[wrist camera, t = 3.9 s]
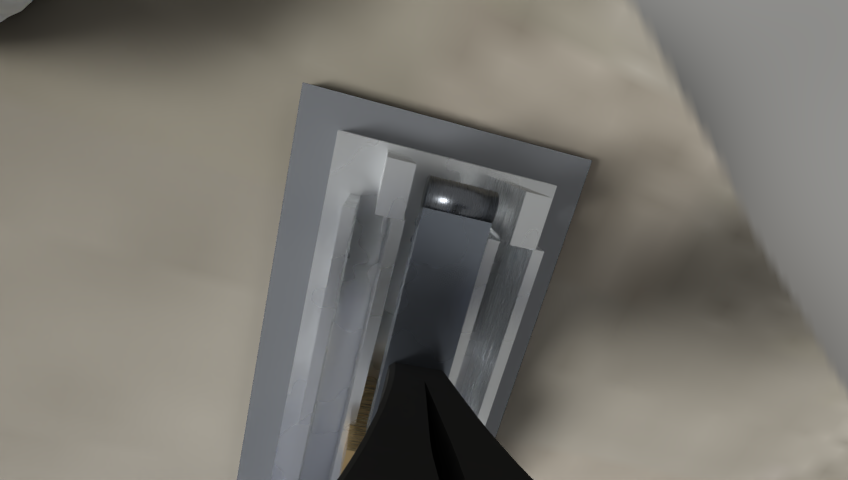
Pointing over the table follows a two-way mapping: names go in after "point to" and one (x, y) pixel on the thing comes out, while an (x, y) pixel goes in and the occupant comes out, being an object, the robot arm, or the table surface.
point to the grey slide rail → (395, 295)
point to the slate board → (302, 219)
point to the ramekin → (11, 7)
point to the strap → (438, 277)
